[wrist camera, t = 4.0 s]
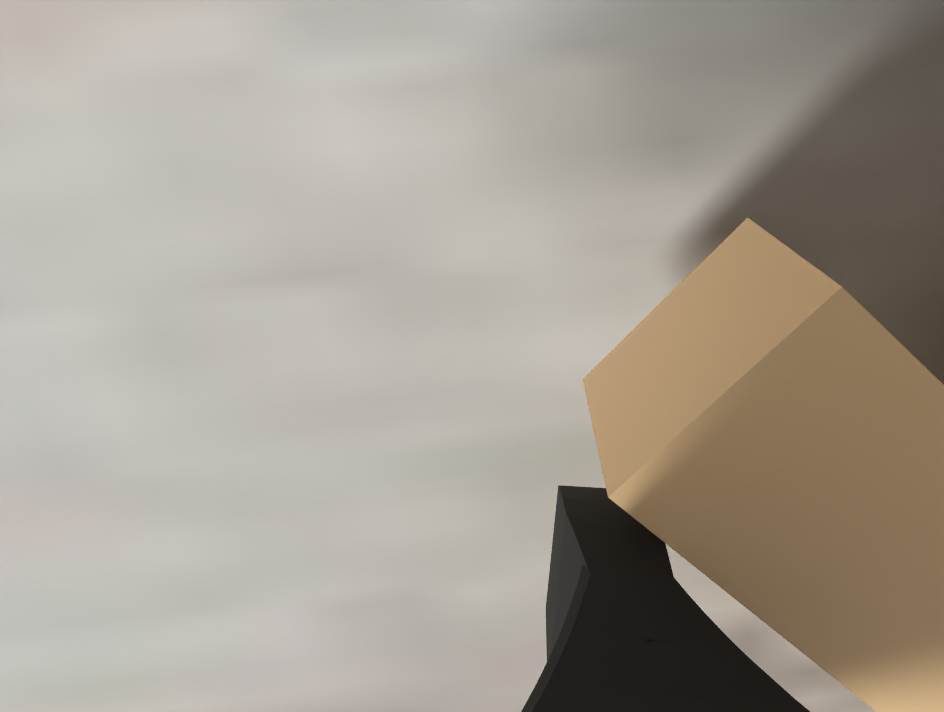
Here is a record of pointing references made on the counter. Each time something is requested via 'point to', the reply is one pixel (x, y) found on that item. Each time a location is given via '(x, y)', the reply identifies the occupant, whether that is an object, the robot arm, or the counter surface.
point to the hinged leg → (789, 462)
